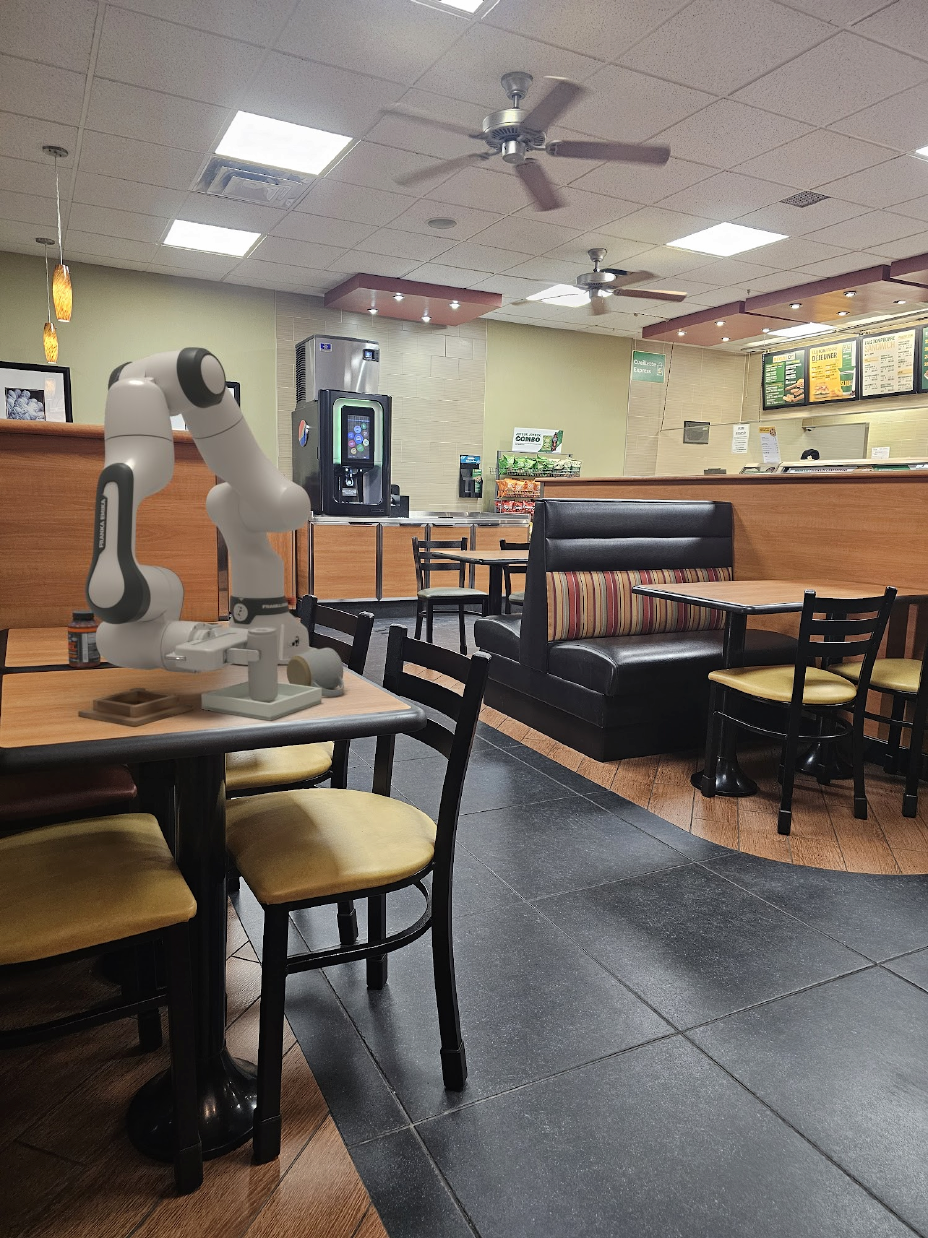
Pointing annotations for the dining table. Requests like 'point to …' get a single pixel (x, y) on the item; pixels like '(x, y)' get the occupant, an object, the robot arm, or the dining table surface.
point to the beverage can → (263, 664)
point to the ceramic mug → (317, 671)
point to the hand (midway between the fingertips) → (267, 652)
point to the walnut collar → (135, 707)
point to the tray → (242, 705)
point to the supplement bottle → (83, 640)
